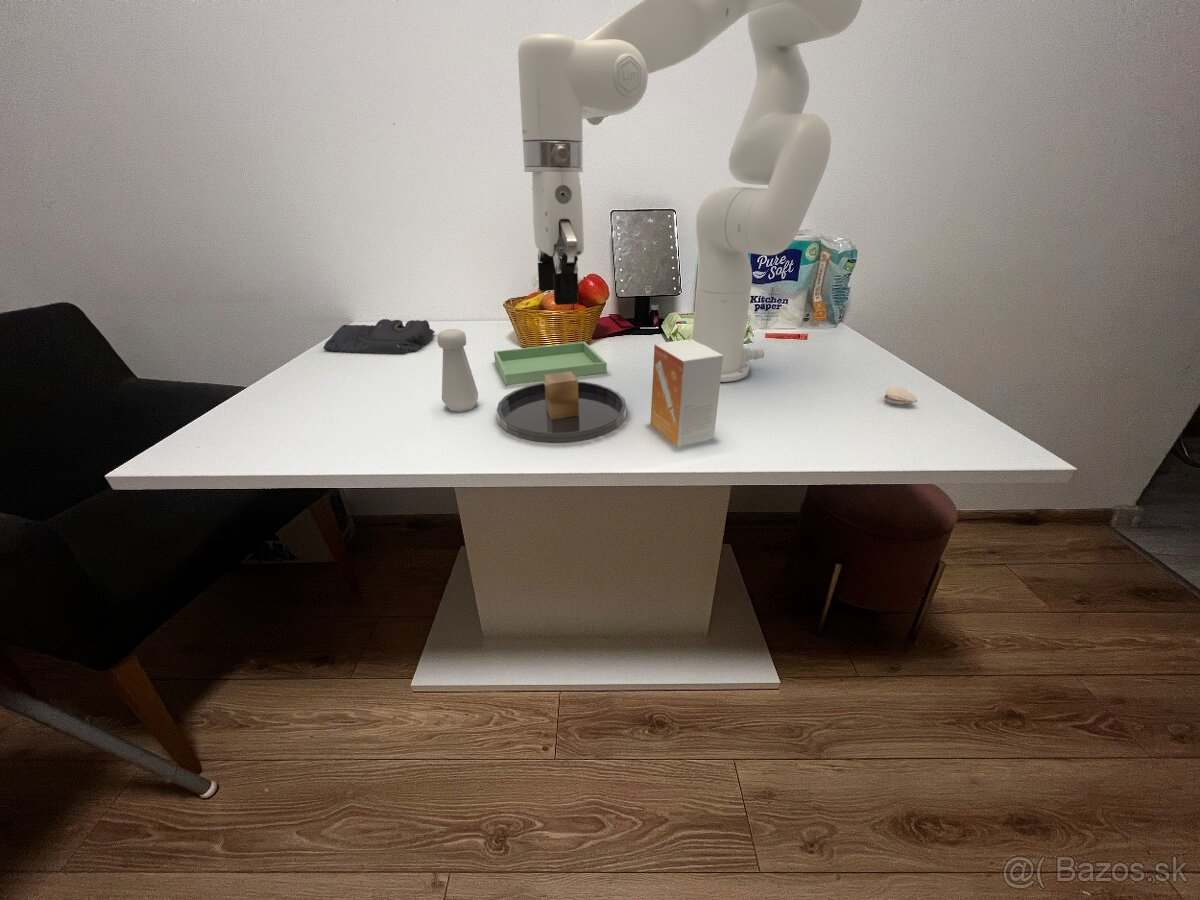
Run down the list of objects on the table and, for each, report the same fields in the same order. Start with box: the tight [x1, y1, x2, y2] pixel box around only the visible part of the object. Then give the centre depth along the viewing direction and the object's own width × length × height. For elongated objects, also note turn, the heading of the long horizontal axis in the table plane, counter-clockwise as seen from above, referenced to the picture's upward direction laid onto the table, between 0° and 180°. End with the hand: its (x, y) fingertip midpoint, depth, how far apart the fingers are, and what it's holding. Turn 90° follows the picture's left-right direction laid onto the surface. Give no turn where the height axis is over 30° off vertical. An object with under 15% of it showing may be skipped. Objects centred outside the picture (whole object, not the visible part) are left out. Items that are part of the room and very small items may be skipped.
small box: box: [650, 338, 723, 447], centre depth 72 cm, size 8×6×13 cm
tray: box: [493, 341, 608, 386], centre depth 100 cm, size 19×14×2 cm
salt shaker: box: [436, 328, 479, 413], centre depth 81 cm, size 6×6×13 cm
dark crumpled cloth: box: [322, 318, 436, 355], centre depth 115 cm, size 15×22×5 cm
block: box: [543, 372, 579, 420], centre depth 80 cm, size 4×4×6 cm
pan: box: [496, 380, 627, 444], centre depth 81 cm, size 20×20×2 cm
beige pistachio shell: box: [884, 386, 919, 405], centre depth 84 cm, size 4×5×2 cm
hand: (557, 296), depth 73 cm, fingers open, 9 cm apart
